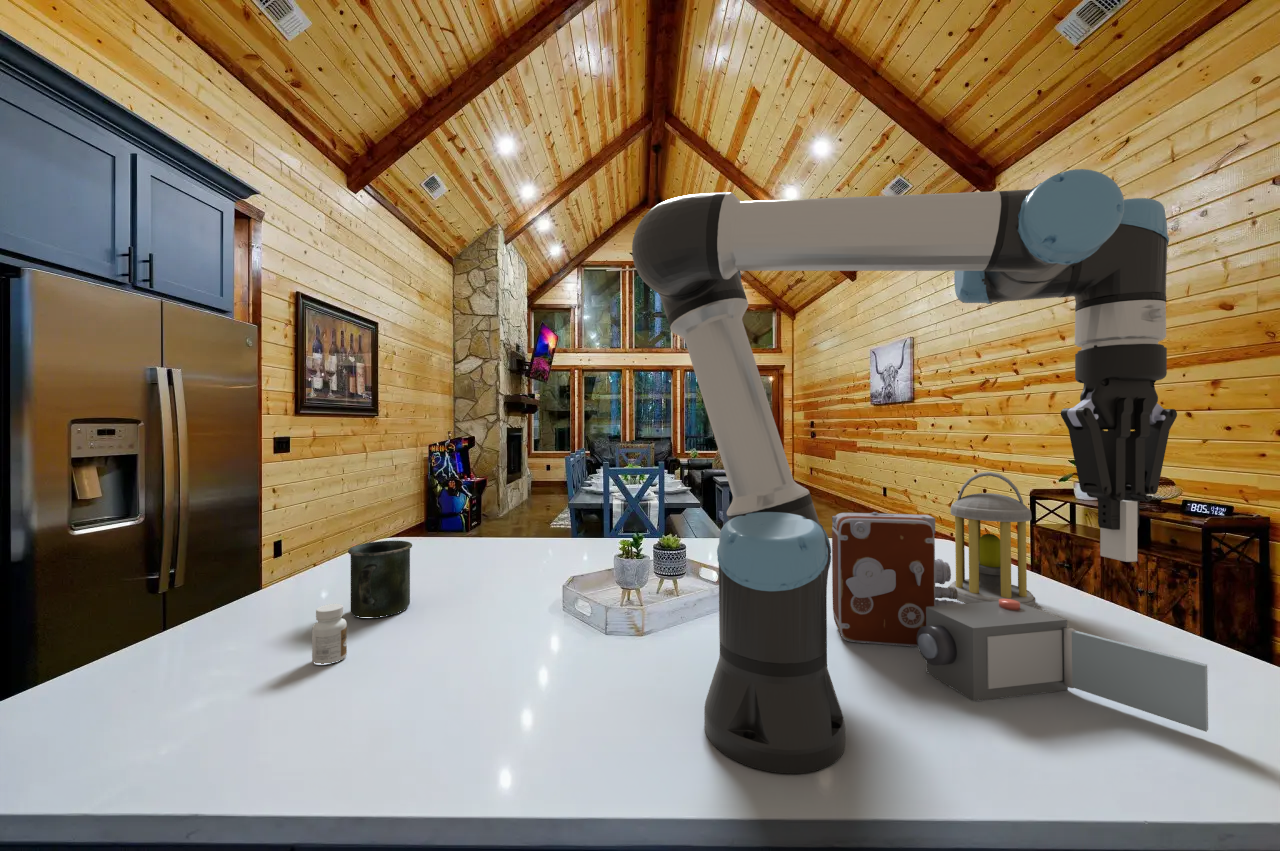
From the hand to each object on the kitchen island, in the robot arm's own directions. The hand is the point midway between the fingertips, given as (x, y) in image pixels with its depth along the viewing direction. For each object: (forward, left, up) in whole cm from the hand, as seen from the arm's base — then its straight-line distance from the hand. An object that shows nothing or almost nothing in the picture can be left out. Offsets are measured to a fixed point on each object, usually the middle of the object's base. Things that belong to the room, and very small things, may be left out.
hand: (1118, 558), depth 58 cm
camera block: (-5, +13, -19) cm, 23 cm away
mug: (-93, +58, -19) cm, 111 cm away
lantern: (+24, +42, -19) cm, 52 cm away
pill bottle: (-94, +38, -19) cm, 103 cm away
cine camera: (-7, +28, -19) cm, 34 cm away
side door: (+5, +3, -18) cm, 19 cm away
